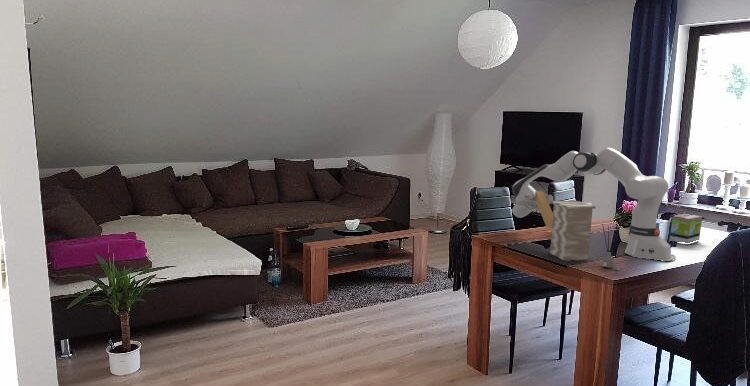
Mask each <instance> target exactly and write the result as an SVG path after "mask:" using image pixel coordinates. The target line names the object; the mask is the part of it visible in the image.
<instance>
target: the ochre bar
mask: <svg viewBox="0 0 750 386" xmlns="http://www.w3.org/2000/svg"><path fill="white" fill-rule="evenodd" d="M535 193H537V197H534V198H535V201H536V203H537V206H538V208H539V209H538V210H539V212H540V214H541V217H542V219H543V222H544V224H545V227H546V229H552V222H553V210H552V208H551V206H550V204H549V203H548V201H547V199H546V197H545V194H544V193H545V192H544V191H543V190H536V192H535Z"/></svg>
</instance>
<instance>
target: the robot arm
mask: <svg viewBox="0 0 750 386" xmlns="http://www.w3.org/2000/svg"><path fill="white" fill-rule="evenodd" d="M606 171H607V172H608V173H610V175H612V176H613V177H614V178H616V179H617V180H618V181H619V182H620V183H621V185H622V186H623V187H624V190H625V193H626V195H627V197H629V198H631V199H633V200H637V203H636V204H635V206H634V207H633V208H632V211H631V213H632V220H631V224H629V225H630V226H629V227H628V228H629V229H628V235H629V237H628V241H627V244H626V248H625V251H624V253H625V254H627V255H629V256H632V257H633V258H635V257H637V259H642V258H646V259H645V260H650V259H654V260H653V261H657V260H663V261H662V262H665V261H671V260H673V259H675V258H676V255H675V254H672V249H671V245H670V243H668V242H667V241H666V240H664V238H662V236H661V235H660V234H661V229H659V228H658V227H657V228H658V229H657V228H656V226H657V220H658V218H657V217H658V212H659V209H660V206H661V203H662V200H663V198H664V196H665V194H667V192H668V190H669V183H668V181H667V180H666V179H665V178H664V177H662V176H657V175H648V176H647V175H644V174H643V173H641V171H640V170H639V167H638V165H637V164H636V163H635V162H633V161H632V160H631V159H629V157H627V156H626V155H624V154H623V153H622V152H619V151H618V150H616V149H615V148H612V147H604V148H602V149H601V150H600V151H599V152H598V153H595V152H591V151H590V152H589V151H580V152H579V151H576V150H571V151H568V152H567V153H565V154H564V155H562V156H561V157H560V158H559V159H558V160H557V161H556V162H554V163H552V164H551V163H550V164H547V163H546V164H543V165H541V166H539V167H538V168H536V169H535V170H534V171H532V172H530V173H529V174H528V175H526V176H525V177H522V178H520V179H519V180H517V181H516V182H515V183H513V185H512V187H511V190H512V191H511V192H512V194H513V195H515V197H516V198H515V200H513V202H512V203H513V204H515V205H514V206H513V207H512V213H513V215H514V217H516V218H520V219H521V218H524V217H526V216H528V215H529V214H530V213H532V212H535V211H538V210H539V208H538V206H537V203H536V201H535V198H534V197H537V193H535V192H536V191H537V190H536V189H535V188H534V187H533V186H531V184H530V183H532V182H533V181H534V180H536V179H538V178H539V177H544V178H547V179H549V180H552V181H554V182H565V181H566V180H568V179H569V178H571V177H572V176H573V175H574V174H575V173H576V172H580V173H584V174H587V175H593V176H598V175H599V176H600V175H603V174H604V173H605V172H606ZM544 194H545V197H546V199H547V201H548V203H549V205H551V204H552V203H551V201H554V196H553V195H552V194H547V193H546V192H544ZM675 260H676V259H675ZM671 262H672V261H671Z"/></svg>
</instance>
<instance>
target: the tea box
mask: <svg viewBox="0 0 750 386" xmlns="http://www.w3.org/2000/svg"><path fill="white" fill-rule="evenodd" d="M702 221H703V216H702V215H695V214H689V213H681V214H676V215H672V219H671V228H670V236H669V242H670V241H676V242H685V243H690V242H693V241H696V240H699V241H700V237H701V229H702Z"/></svg>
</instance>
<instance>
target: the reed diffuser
mask: <svg viewBox="0 0 750 386" xmlns="http://www.w3.org/2000/svg"><path fill="white" fill-rule="evenodd" d="M601 225H602V229H603V236H604V241H605V242H607V239H608V242H607V243H605V245H606V247H605V248H606V255H603V257H602V261H601V262H602V263H601V265H602V267H605V268H615V269H616V270H615V269H614V270H615V271H617V270H618V271H620V270H621V267H620V266H619V265H615V264H614V263H615V259H614V257H613V256H612V249H613V246H614V244H615V241H616V239H617V237H618V233H619V231H620V229H621V227H619V228H618V227H617V226H618V225H617V226H616V227H615V231H614V235H613V238H612V242H611V243H610V227H608V232H607V233H608V238H607V239H606V232H605V228H604V224H603V223H602V224H601ZM617 230H618V231H617ZM609 243H610V244H611V245H610V244H609ZM609 246H610V249H609ZM614 265H615V266H614Z"/></svg>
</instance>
